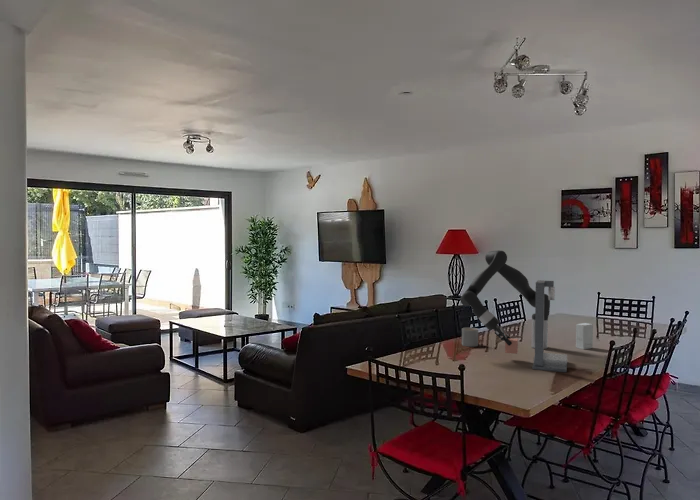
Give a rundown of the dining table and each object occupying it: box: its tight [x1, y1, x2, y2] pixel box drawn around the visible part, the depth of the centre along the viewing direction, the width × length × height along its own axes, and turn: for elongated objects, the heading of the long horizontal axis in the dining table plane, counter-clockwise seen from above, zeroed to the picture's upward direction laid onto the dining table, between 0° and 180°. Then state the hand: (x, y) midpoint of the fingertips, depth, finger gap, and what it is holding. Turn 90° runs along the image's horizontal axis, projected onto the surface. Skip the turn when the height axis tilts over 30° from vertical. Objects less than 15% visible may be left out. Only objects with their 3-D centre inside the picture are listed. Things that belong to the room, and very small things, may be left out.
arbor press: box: [531, 279, 568, 373], centre depth 272 cm, size 24×16×44 cm, turn 157°
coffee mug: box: [461, 327, 479, 348], centre depth 326 cm, size 13×10×10 cm
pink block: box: [504, 337, 519, 355], centre depth 284 cm, size 6×6×7 cm
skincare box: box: [575, 322, 594, 350], centre depth 316 cm, size 8×6×15 cm
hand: (511, 343), depth 284 cm, fingers closed on pink block, 5 cm apart
